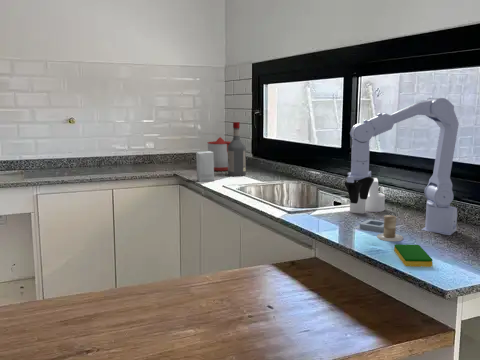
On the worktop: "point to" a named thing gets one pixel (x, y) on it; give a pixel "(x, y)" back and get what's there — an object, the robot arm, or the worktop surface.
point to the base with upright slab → (374, 199)
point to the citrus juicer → (219, 154)
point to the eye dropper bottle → (358, 206)
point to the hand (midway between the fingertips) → (358, 201)
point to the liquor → (236, 154)
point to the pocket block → (372, 226)
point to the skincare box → (205, 166)
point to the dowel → (389, 226)
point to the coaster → (397, 238)
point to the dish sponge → (413, 255)
